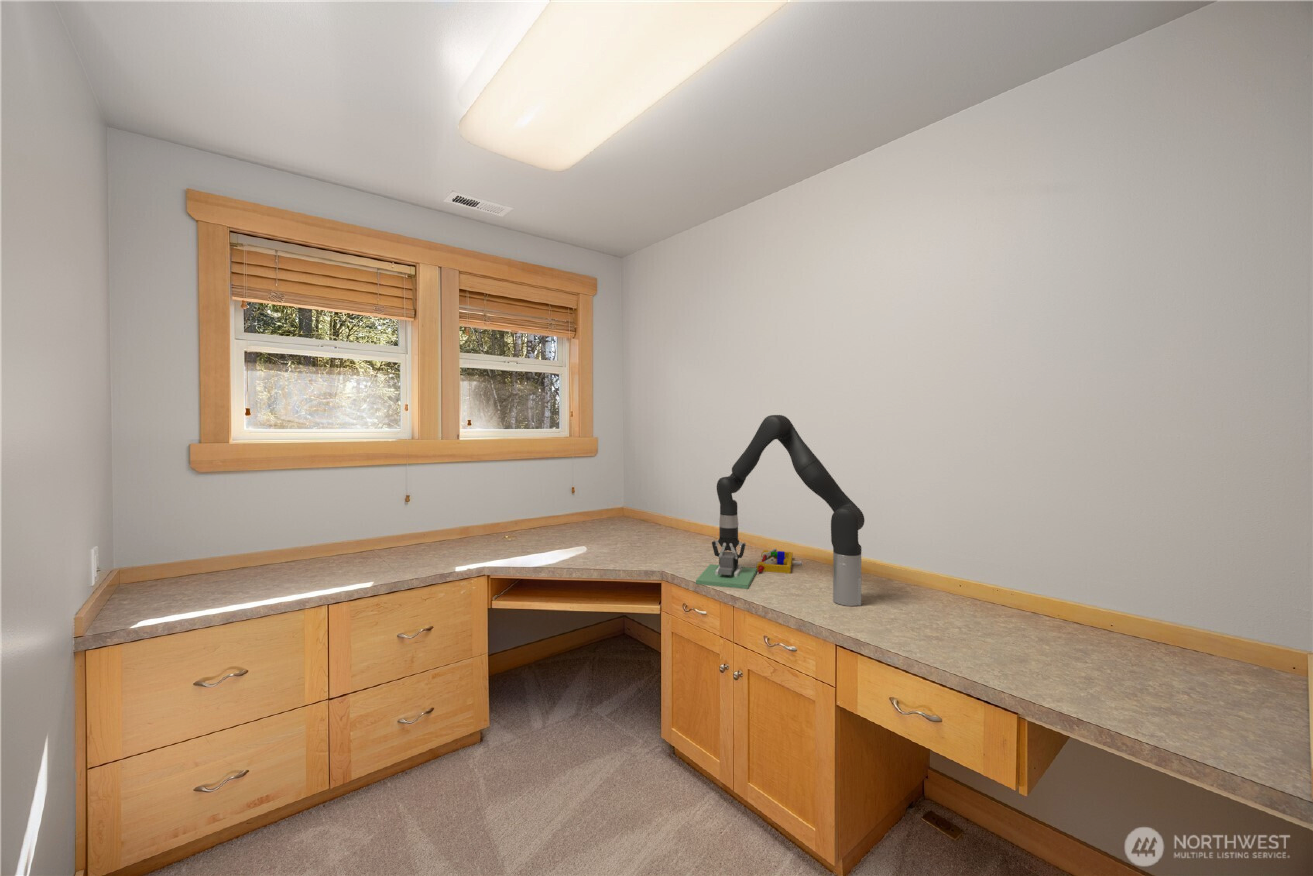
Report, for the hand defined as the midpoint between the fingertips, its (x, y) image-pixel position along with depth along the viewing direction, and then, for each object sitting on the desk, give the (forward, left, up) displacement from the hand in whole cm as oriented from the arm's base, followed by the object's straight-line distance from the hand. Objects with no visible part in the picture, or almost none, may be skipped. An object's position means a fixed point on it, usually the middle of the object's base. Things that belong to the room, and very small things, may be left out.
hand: (728, 567), depth 215 cm
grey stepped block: (0, +2, -1) cm, 2 cm away
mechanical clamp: (-18, -23, -5) cm, 29 cm away
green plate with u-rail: (0, +2, -4) cm, 4 cm away
